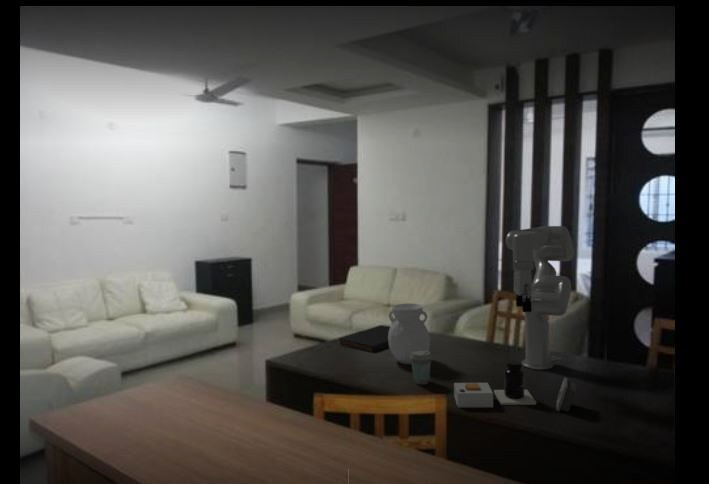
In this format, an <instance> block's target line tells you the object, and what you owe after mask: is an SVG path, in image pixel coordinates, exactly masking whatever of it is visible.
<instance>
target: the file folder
mask: <svg viewBox="0 0 709 484" xmlns="http://www.w3.org/2000/svg"><path fill="white" fill-rule="evenodd" d="M389 329H390V326H384V325H378V326H375V327H371V328H368V329H365V330H362V331H358V332H355V333H352V334H349V335H345V336H342V337H340V338H338V342H339V344H342V345H341V346H343V345H346V346H345V347H347V346H349V347H348V348H352V347H353V349H356V348H358V349H357V350H360V349H362V350H361V351H364V350H365V351H366V352H368V351H369V352H368V353H373V354H374V353H376V351H377V352H380V351H382V350H385V349H388V348H389V343H388V333H389Z"/></svg>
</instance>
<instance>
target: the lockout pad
mask: <svg viewBox="0 0 709 484" xmlns="http://www.w3.org/2000/svg"><path fill="white" fill-rule="evenodd" d="M493 394H494V395H495V396H496V398H497V400H498V402H499V404H500V405H501V406H520V405H521V406H529V405H530V406H536V405H537V401H536V400H535V399H534V397H533V396H532V395H531V393H530V391H529V390H528V389H524V397H523V398H520V399H513V398H509V397H506V396H505V394H504V389H494V390H493Z"/></svg>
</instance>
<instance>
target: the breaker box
mask: <svg viewBox="0 0 709 484" xmlns="http://www.w3.org/2000/svg"><path fill="white" fill-rule="evenodd" d="M466 383H467V382H454V383H453V395H454V396H453V397H454V399H455V403H456V406H458V407H457V408H494V391H492V388H491V387H490V384H489V383H488V382H477V383H478V385H479V387H480V390H475V391H467V390H466Z"/></svg>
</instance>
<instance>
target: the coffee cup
mask: <svg viewBox="0 0 709 484" xmlns="http://www.w3.org/2000/svg"><path fill="white" fill-rule="evenodd" d="M410 358H411V362H412V364H411V369H412V376H413V383H414V384H417V385H420V386H421V385H427V384H429V383H430V376H431V375H430V374H431V364H432V358H433V356H432V354H431V351H430V350H429V351H427V350H414V351H412V352H411V355H410Z"/></svg>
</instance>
